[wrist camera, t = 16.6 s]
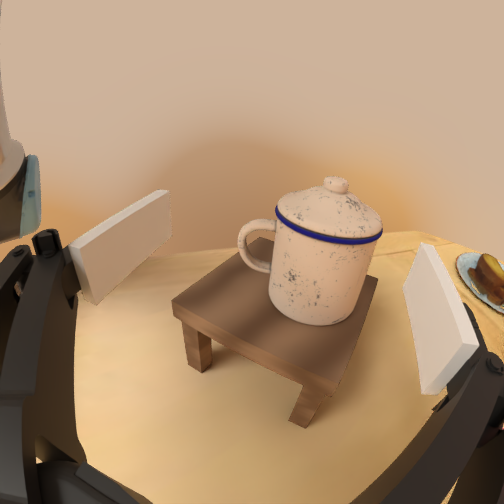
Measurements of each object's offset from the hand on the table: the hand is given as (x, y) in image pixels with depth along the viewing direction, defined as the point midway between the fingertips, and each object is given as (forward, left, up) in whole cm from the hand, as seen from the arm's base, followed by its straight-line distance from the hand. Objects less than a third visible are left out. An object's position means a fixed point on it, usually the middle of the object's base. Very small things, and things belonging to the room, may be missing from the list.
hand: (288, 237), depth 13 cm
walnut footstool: (-3, +10, -21) cm, 23 cm away
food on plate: (+37, +51, -21) cm, 66 cm away
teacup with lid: (-2, +9, -11) cm, 14 cm away
